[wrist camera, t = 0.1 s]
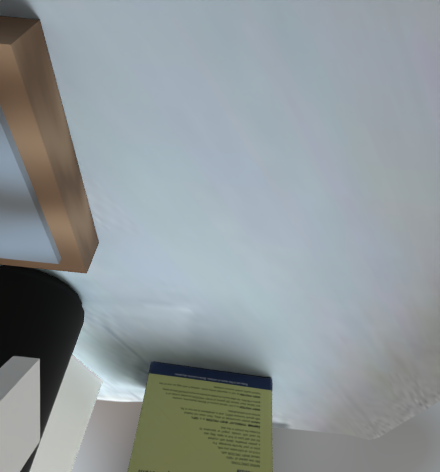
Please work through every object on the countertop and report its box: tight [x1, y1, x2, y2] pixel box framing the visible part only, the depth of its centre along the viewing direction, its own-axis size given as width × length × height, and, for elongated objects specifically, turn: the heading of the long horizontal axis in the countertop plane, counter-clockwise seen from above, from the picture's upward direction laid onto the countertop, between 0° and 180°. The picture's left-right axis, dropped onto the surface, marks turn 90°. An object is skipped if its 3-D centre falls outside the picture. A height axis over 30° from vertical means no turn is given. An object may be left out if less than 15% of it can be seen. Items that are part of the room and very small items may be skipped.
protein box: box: [128, 362, 273, 472], centre depth 44 cm, size 10×16×16 cm
